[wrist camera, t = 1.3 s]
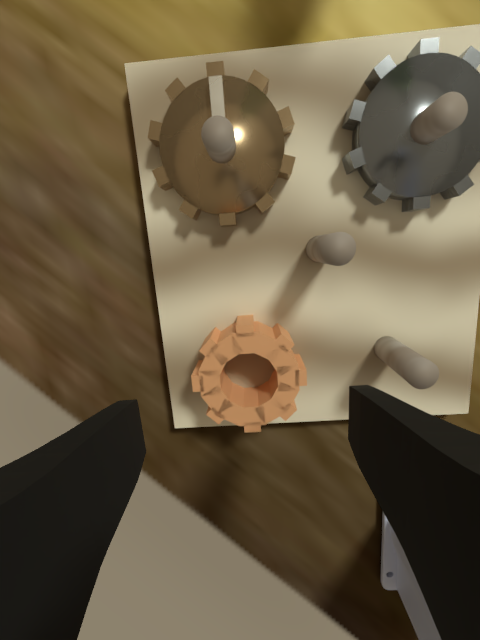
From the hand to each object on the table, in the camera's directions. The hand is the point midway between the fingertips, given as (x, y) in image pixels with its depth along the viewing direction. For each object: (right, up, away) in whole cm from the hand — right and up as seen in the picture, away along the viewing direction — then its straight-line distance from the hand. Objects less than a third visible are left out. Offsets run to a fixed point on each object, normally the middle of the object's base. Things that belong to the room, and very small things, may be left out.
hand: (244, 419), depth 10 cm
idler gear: (0, +1, +8) cm, 8 cm away
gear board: (+4, +7, +8) cm, 11 cm away
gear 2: (+8, +12, +5) cm, 16 cm away
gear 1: (-1, +12, +6) cm, 13 cm away
